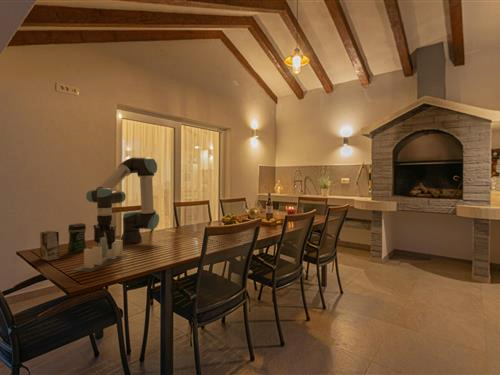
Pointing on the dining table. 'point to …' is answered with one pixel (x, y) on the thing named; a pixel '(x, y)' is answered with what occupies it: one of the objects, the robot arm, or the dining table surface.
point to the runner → (104, 263)
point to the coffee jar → (77, 238)
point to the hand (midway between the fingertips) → (104, 254)
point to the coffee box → (49, 245)
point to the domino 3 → (103, 245)
